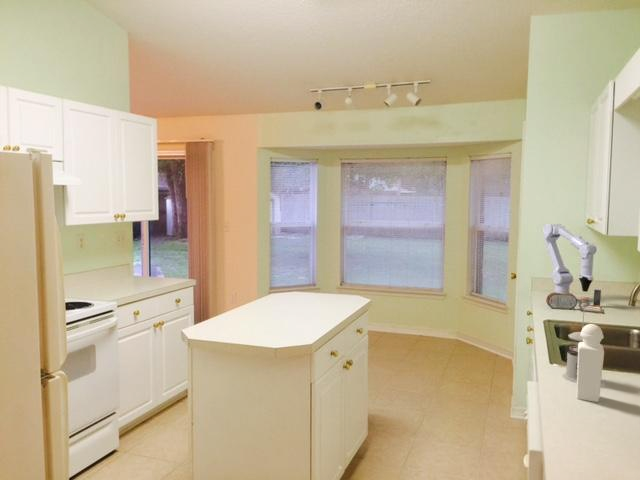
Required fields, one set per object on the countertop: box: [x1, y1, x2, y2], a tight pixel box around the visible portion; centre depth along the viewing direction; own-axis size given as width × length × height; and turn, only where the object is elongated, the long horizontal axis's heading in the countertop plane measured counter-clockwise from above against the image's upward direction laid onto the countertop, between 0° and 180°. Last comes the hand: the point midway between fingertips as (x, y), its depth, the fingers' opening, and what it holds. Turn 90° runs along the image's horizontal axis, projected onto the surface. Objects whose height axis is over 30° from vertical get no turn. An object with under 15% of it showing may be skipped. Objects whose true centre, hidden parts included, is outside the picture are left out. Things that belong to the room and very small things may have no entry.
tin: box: [545, 291, 578, 310], centre depth 266 cm, size 15×3×8 cm, turn 84°
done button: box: [579, 296, 590, 302], centre depth 274 cm, size 4×4×3 cm
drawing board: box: [579, 305, 604, 315], centre depth 265 cm, size 12×10×1 cm
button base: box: [578, 298, 591, 308], centre depth 274 cm, size 5×5×3 cm
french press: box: [562, 303, 588, 384], centre depth 164 cm, size 10×12×25 cm
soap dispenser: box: [576, 323, 605, 403], centre depth 149 cm, size 6×6×22 cm
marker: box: [592, 289, 602, 307], centre depth 273 cm, size 3×3×9 cm
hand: (585, 291), depth 273 cm, fingers closed
